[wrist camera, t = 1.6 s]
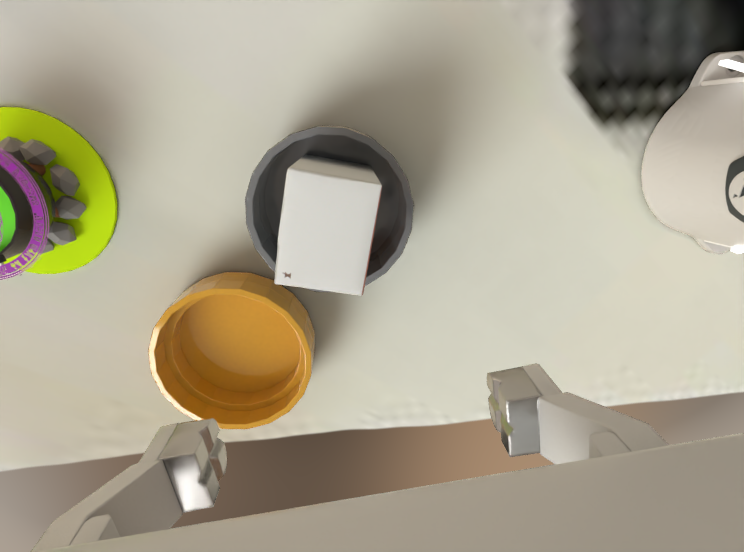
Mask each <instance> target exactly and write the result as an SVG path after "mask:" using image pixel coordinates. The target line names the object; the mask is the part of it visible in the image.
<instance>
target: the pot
mask: <svg viewBox="0 0 744 552" xmlns="http://www.w3.org/2000/svg"><path fill="white" fill-rule="evenodd" d="M304 155H312V156H317V157H323V158H328V159H334V160H339V161H345V162H351V163H356V164H362V165H368V166H371V167H372V169H373V171H374V173H375V174H376V176H377V178H378V179H379V181H380V183H381V185H382V191H381V197H380V203H379V208H378V213H377V219H376V225H375V231H374V237H373V242H372V248H371V253H370V259H369V265H368V270H367V275H366V281H365V286H366V285H368V284H369V283H371V282H372V281H374V280H375V279H377V278H379V277H380V276H382V275H383V274H385V273H386V272H387V271H388V270H389V269H390V267H391V266H392V265H393V264H394V263H395V261H396V260H397V259H398V258H399V257H400V256H401V254H402V253H403V250H404V248H405V245H406V243H407V241H408V238H409V236H410V233H411V230H412V220H413V207H414V205H413V200H412V196H411V191H410V187H409V183H408V180H407V177H406V176H405V174H404V173H403V171H402V169H401V168H400V166H399V164H398V163H397V161H396V160H395V158H394V156H393V155H392V154H390V153H389V152H388V151H387V150H386V149H384V148H383V147H382V146H381V145H380V144H378V143H377V142H376V141H375V140H374V139H372V138H371V137H370V136H368V135H366V134H363V133H361V132H358V131H356V130H353V129H351V128H348V127H344V126H323V125H322V126H317V127H314V128H310V129H307V130H303V131H300V132H296V133H293V134H291V135H289V136H287V137H286V138H285V139H283V140H282V141H280V142H279V143H278V144H276V145H275V146H273V147H272V148H271V149H269V150H268V151H267V153H266V154H265V155H264V157H263V158H262V160H261V161H260V163H259V164H258V165H257V167H256V168H255V170H254V171H253V173H252V176H251V179H250V183H249V186H248V190H247V193H246V197H245V207H246V224H247V228H248V230H249V233H250V236H251V238H252V241H253V244H254V246H255V249H256V250H257V252H258V253H259V254H260V255H261V257H262V258H263V259H264V260H265V262H266V263H267V264H268V266H269V267H270V268H271V269H272V270H273V271H274V272H275V269H276V259H277V248H278V234H279V226H280V219H281V212H282V204H283V197H284V189H285V181H286V174H287V169H288V168H289V167H290V166H292V165H293V164H294V163H295V162H296V161H298V160H299V159H300V158H301V157H302V156H304ZM306 289H309V288H306ZM309 290H312V291H315V292H316V291H317V292H331V291H323V290H316V289H309Z"/></svg>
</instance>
